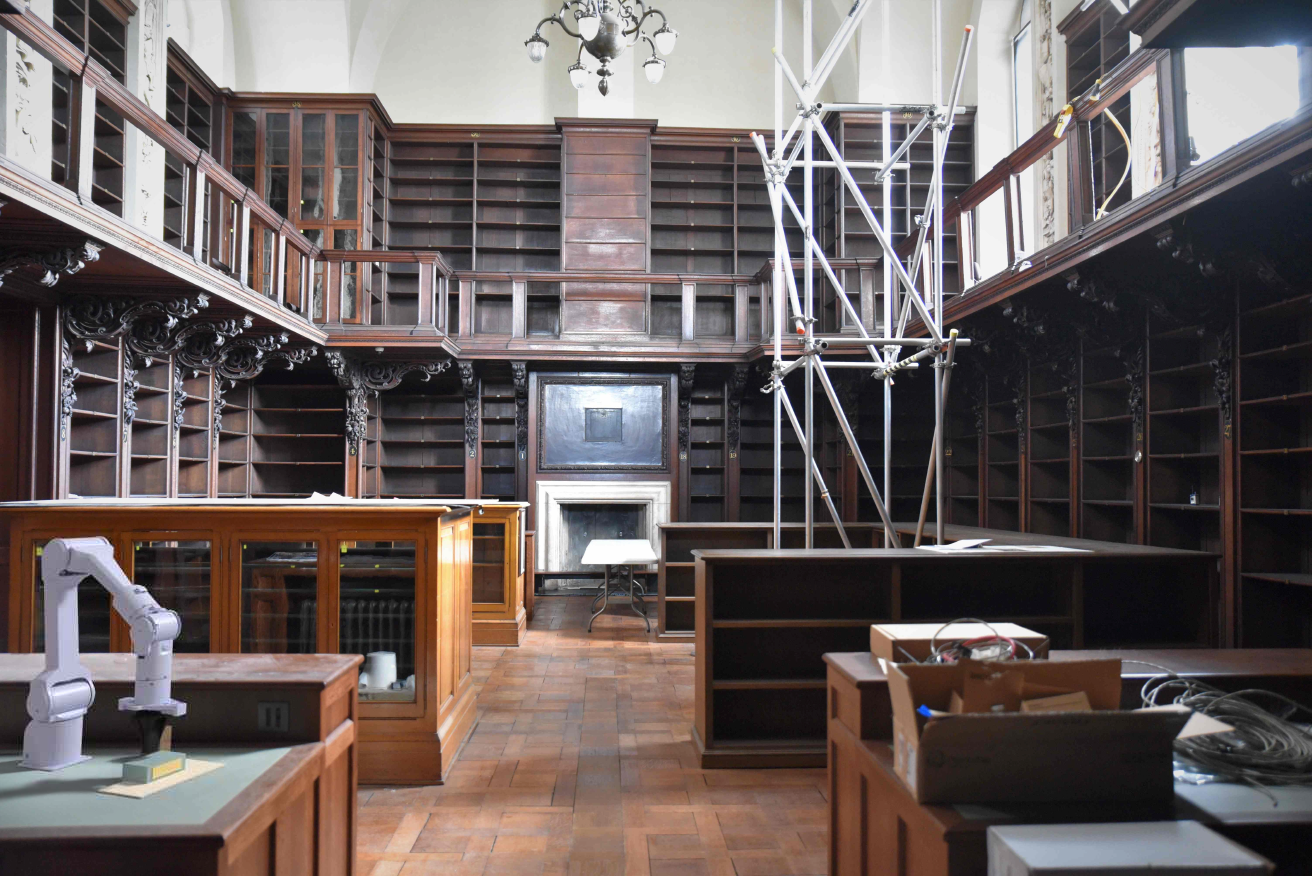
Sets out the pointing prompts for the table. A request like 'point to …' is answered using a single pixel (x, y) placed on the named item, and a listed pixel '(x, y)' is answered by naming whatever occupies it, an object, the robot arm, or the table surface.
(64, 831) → the table surface
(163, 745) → the walnut bookend
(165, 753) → the blue-grey box
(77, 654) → the robot arm
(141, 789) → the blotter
